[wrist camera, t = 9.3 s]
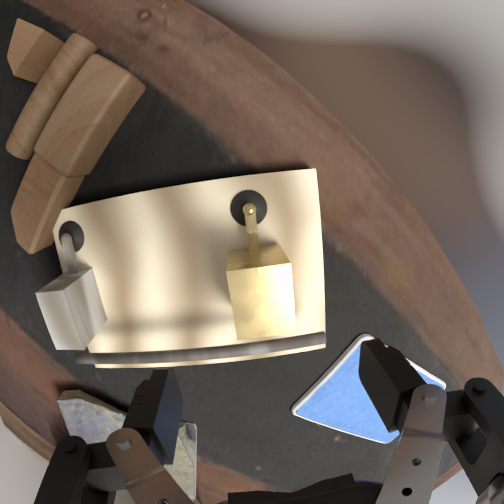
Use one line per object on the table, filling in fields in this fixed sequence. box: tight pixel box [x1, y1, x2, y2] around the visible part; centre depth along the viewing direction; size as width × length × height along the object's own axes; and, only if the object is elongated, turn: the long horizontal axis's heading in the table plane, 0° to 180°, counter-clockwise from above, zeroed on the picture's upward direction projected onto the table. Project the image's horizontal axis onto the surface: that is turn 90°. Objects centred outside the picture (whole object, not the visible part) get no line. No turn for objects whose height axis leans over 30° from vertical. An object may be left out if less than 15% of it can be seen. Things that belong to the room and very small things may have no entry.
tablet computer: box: [291, 334, 446, 443], centre depth 31 cm, size 19×13×1 cm, turn 55°
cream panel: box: [36, 169, 326, 368], centre depth 22 cm, size 23×16×7 cm
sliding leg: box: [226, 203, 296, 341], centre depth 21 cm, size 4×8×5 cm, turn 7°
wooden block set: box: [6, 18, 146, 254], centre depth 19 cm, size 17×6×18 cm
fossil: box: [57, 390, 197, 500], centre depth 30 cm, size 20×5×17 cm
